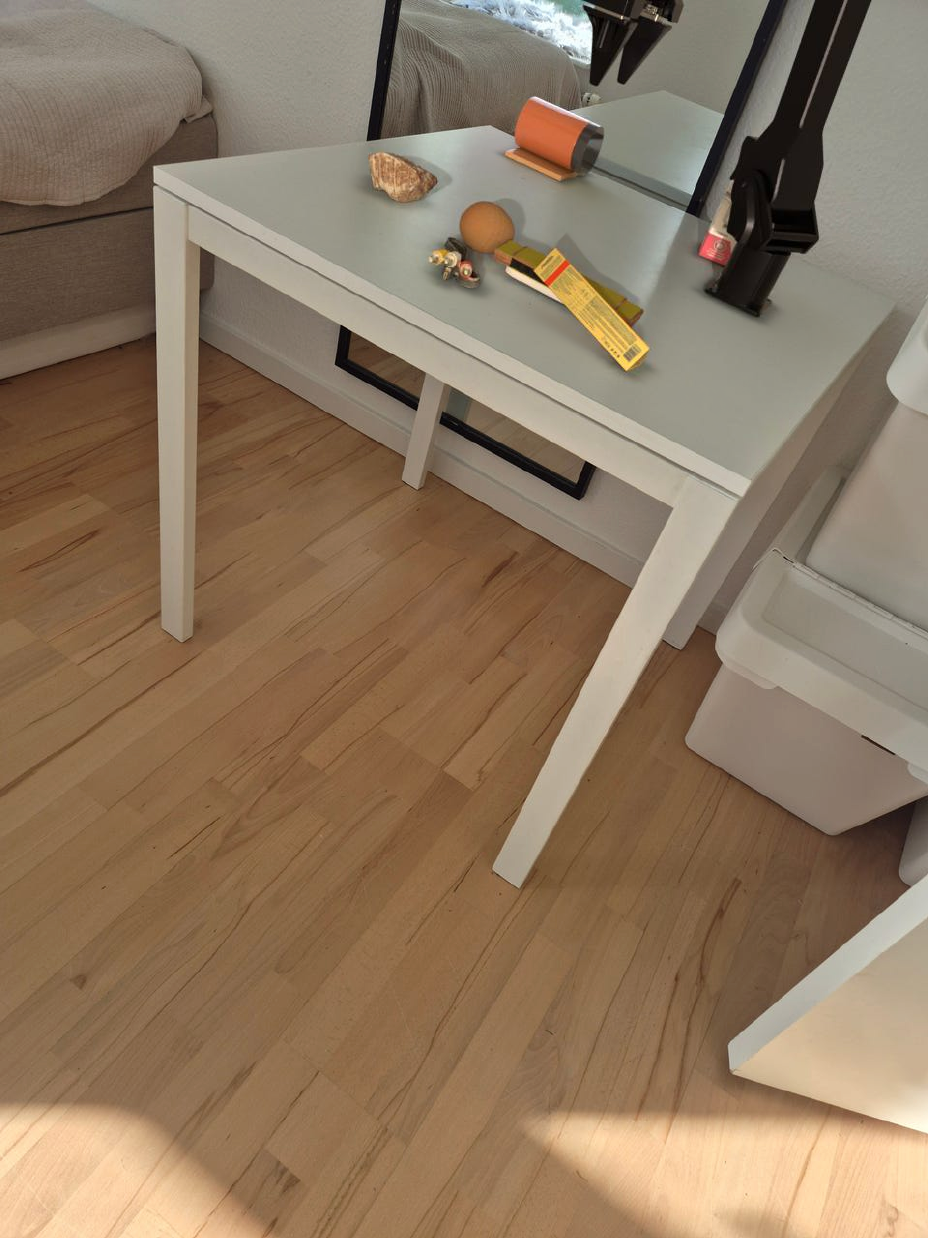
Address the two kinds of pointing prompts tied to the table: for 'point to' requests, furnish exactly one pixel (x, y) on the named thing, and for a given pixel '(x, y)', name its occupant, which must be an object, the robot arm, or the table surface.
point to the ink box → (719, 233)
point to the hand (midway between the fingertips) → (607, 84)
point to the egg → (486, 227)
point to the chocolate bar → (592, 310)
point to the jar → (559, 136)
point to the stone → (400, 177)
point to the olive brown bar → (522, 268)
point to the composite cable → (456, 263)
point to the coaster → (540, 164)
